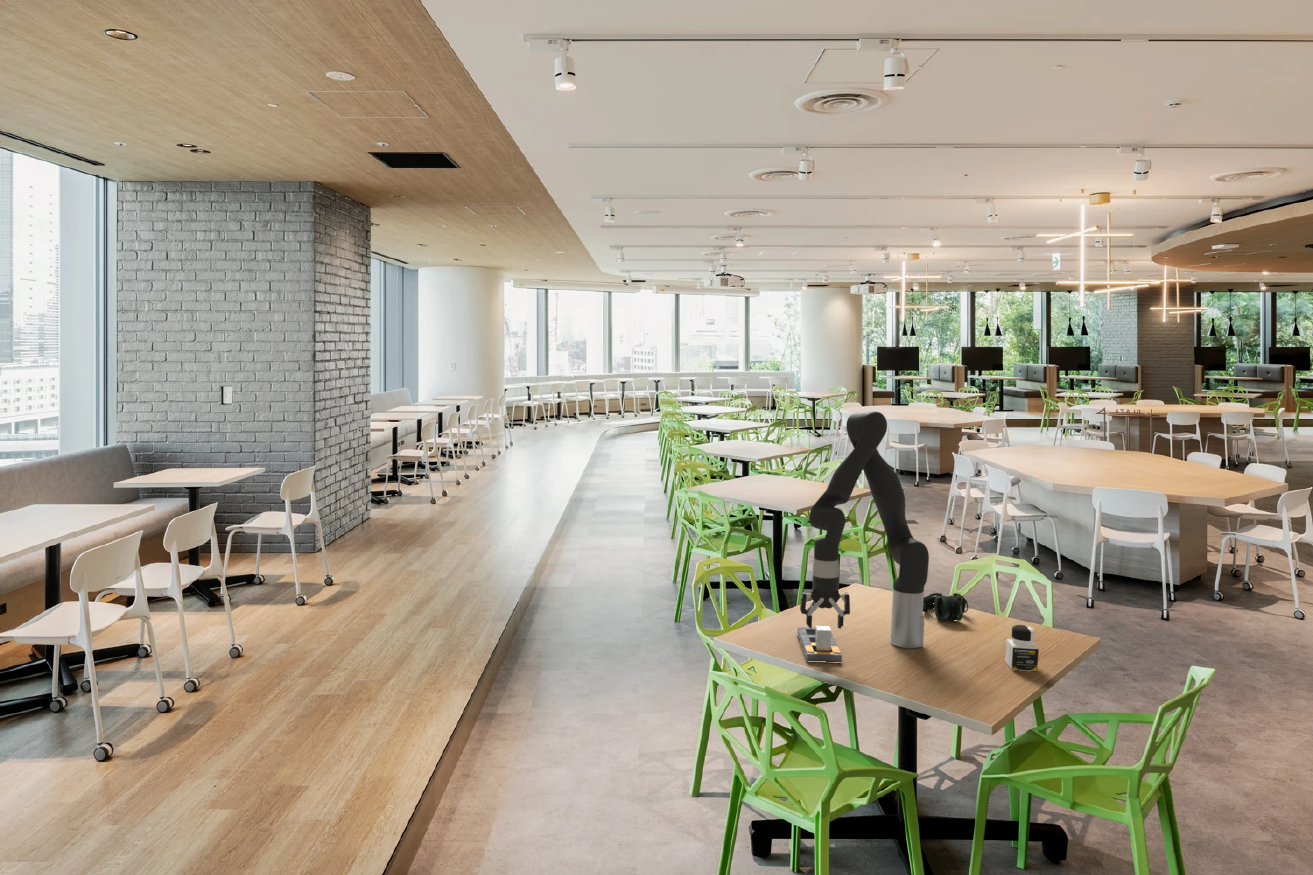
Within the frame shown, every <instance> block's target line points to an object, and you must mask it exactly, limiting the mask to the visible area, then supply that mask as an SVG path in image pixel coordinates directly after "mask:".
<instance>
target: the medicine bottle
mask: <svg viewBox="0 0 1313 875" xmlns="http://www.w3.org/2000/svg"><path fill="white" fill-rule="evenodd" d="M1035 632H1036V631H1035V629H1034V628H1033V627H1031V626H1029V625H1024V624H1016V625H1014V626H1012V627H1011V636H1010V637H1011V638H1007V639H1006V646H1005V647H1006V648H1005V663H1006V665H1007V666H1008V667H1009V669H1010V670H1011V671H1015V670H1019V672H1031V671H1037V672H1038V668H1039V666H1038V664H1039V651H1040V650H1039V647H1038V645H1036V643H1035V634H1036V633H1035Z"/></svg>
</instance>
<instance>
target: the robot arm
mask: <svg viewBox="0 0 1313 875" xmlns="http://www.w3.org/2000/svg"><path fill="white" fill-rule="evenodd" d="M845 425H846V433H847V436H848V438H849V441H850V443H851V445H852V447H853V449H852V451H851V452H850V453H849V454H848V456H847V457H846V458H845V459H844V460H843V461H842V462H841V463H840V464H839V465H838V467H837V468H836V469H835V471H834V473H833V474H832V477H831V479H830V481H829V483H828V485H827V488H826V490H825V491H824V492H823V494H821V496H820V497H819V498H818V499H817V500H816V501H815V503H814V504H813V506H812V507H811V509H810V511H809V516H808V521H809V524H810V526H811V527H812V528H814V529H817V530H822V531H826V534H825V537H818V538H816V539H815V540H814V546H813V562H812V563H813V564H812V588H811V589H812V590H811V592H805V591H802V592H800V593H801V594H800V606H799V610H800V613H801V614H802V615H806V617H805V618H806V621H805V624H806V625H807V626H806V627H809V628H813V614H814V612H815V611H817V609H819V608H820V609H832V608H834V610H835V611H836V613H838V614H837V629H842V627H844V616H846V615H850V614H851V606H850V605H851V601H850V599H851V597H850V594H849V593H848V592H847V591H846V592H844V593H839V589H840V588H839V586H840V585H839V584H840V563H839V554H840V553H839V550H840V548H839V547H840V542H841V540H842V535H843V533H844V529H845V526H846V516H845V513H844V512H843V510H842V509H840V508H839V507H836V506H840V505H844V504H847V503H848V501H849V500H850V498H851V495H852V493H853V491H854V490H855V486H856V484H857V483H858V480H859V478H860V476H861V474H862V473H863V472H864V475H865V478H866V481H867V484H868V487H869V489H870V493H871V496H872V498H873V502H874V505H875V506H876V509H877V512H878V515H879V517H880V520H881V523H882V525H883V528H884V532H885V535H886V539H887V543H888V548H889V553H890V556H891V558H892V560H893V561H894V562H895V563H896V564H898V565H899V572H898V577H895V579H894V580H893V582H892V603H891V605H892V606H891V623H890V624H891V626H890V643H891V644H892V645H893V646H896V647H898V648H904V649H918V648H924V641H925V640H924V639H925V637H924V636H925V620H926V619H925V618H926V617H925V616H924V614H923V613H924V612H923V599H924V597H925V596H924V595H925V593H924V592H925V586H926V584H927V581H928V574H929V573H928V572H929V565H930V564H929V563H930V562H929V561H930V554H929V550H928V547H927V546H926V545H925V544H924V543H923V542H922V541H919V540H917V539H915V538H914V536H913V535H912V532H911V531H910V528H909V525H908V521H907V518H906V495H905V493H904V489H903V486H902V484H901V480H900V478H899V476H898V474H897V473H896V471H895V469H893V468H892V467H891V465H889V464H888V462H887V461H886V460H885V458H883V456H882V455H881V454H880V452H879V450H878V447H879V445H880V444H881V443H882V441H883V439H884V438H885V436H886V434H887V431H888V430H887V429H888V422H887V418H886V416H885V415H884V414H883V413H881V412H880V411H873V410H872V411H861V412H855V413H853V414H851V415H850V416H849V417H848V418H847V421H846V424H845ZM810 598H811V600H812V602H811V603H810V605H809V607H808V608H806V606H807V601H809V599H810ZM840 599H841V601H843V602H844V606H843V607H844V609H841V607H840V606H839V605H838V604H837V603H838V601H839V600H840Z"/></svg>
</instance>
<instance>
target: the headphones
mask: <svg viewBox="0 0 1313 875" xmlns="http://www.w3.org/2000/svg"><path fill="white" fill-rule="evenodd" d="M933 603H934V604H933ZM933 608H934V609H933ZM931 609H933V610H934V615H935V617H936V618H935V619H938V620H937V621H938V622H939V621H942V622H943V621H944V622H945V621H947V620H952V621H953V622H954V620H957V621H958V622H959V621H962V618H963V615H964V613H965V614H966V613H967V612H968V610H969V602H968V601H967V599H966V598H965V597H964V596H963V595H962V594H961V593H957V592H955V593H952V595H948V596H947V595H943V594H942V592H941V593H939V592H933V593H930V594H929V595H926V596H924V599H923V613H926V614H927V615H928V617H930V618H932V619H933V618H934V617H933V616H932V615H931V614H929V612H928V611H932V610H931Z"/></svg>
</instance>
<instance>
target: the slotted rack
mask: <svg viewBox="0 0 1313 875" xmlns="http://www.w3.org/2000/svg"><path fill="white" fill-rule="evenodd" d="M815 633H816V627H812V628H809V626H797V633H796V634H798V635H797V638H798V637H799V638H798V640H799V639H800V641H799V643H800V642H801V644H800V646H802V647H801V649H802V648H803V650H802V652H803V651H804V652H803V654H804V653H805V655H804V657H806V658H805V661H806V660H807V661H826V662H843V654H842V653H841V650H840V649H839V646H838V644H837V642H836V640H835V637H834V635H833V634H832V632H831V649H830V652H815ZM807 661H806V662H807Z"/></svg>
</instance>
